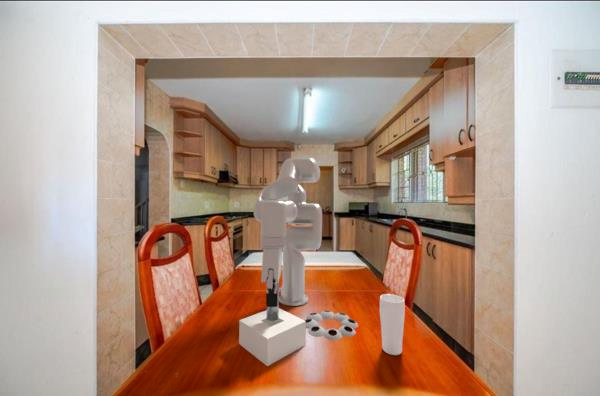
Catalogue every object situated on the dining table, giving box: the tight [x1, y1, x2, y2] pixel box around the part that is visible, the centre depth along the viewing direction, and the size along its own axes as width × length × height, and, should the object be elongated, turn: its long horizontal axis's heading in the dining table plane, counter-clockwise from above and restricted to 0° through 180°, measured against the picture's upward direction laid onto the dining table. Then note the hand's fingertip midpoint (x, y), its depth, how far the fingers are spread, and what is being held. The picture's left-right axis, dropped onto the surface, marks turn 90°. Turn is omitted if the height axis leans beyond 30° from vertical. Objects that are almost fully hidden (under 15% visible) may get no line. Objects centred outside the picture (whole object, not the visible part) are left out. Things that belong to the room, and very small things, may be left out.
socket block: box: [238, 307, 307, 367], centre depth 74 cm, size 14×14×7 cm
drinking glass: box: [379, 293, 406, 356], centre depth 71 cm, size 7×7×15 cm
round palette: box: [303, 310, 359, 341], centre depth 86 cm, size 20×20×2 cm
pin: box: [266, 280, 280, 321], centre depth 74 cm, size 4×4×12 cm
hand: (272, 302), depth 74 cm, fingers closed on pin, 3 cm apart
